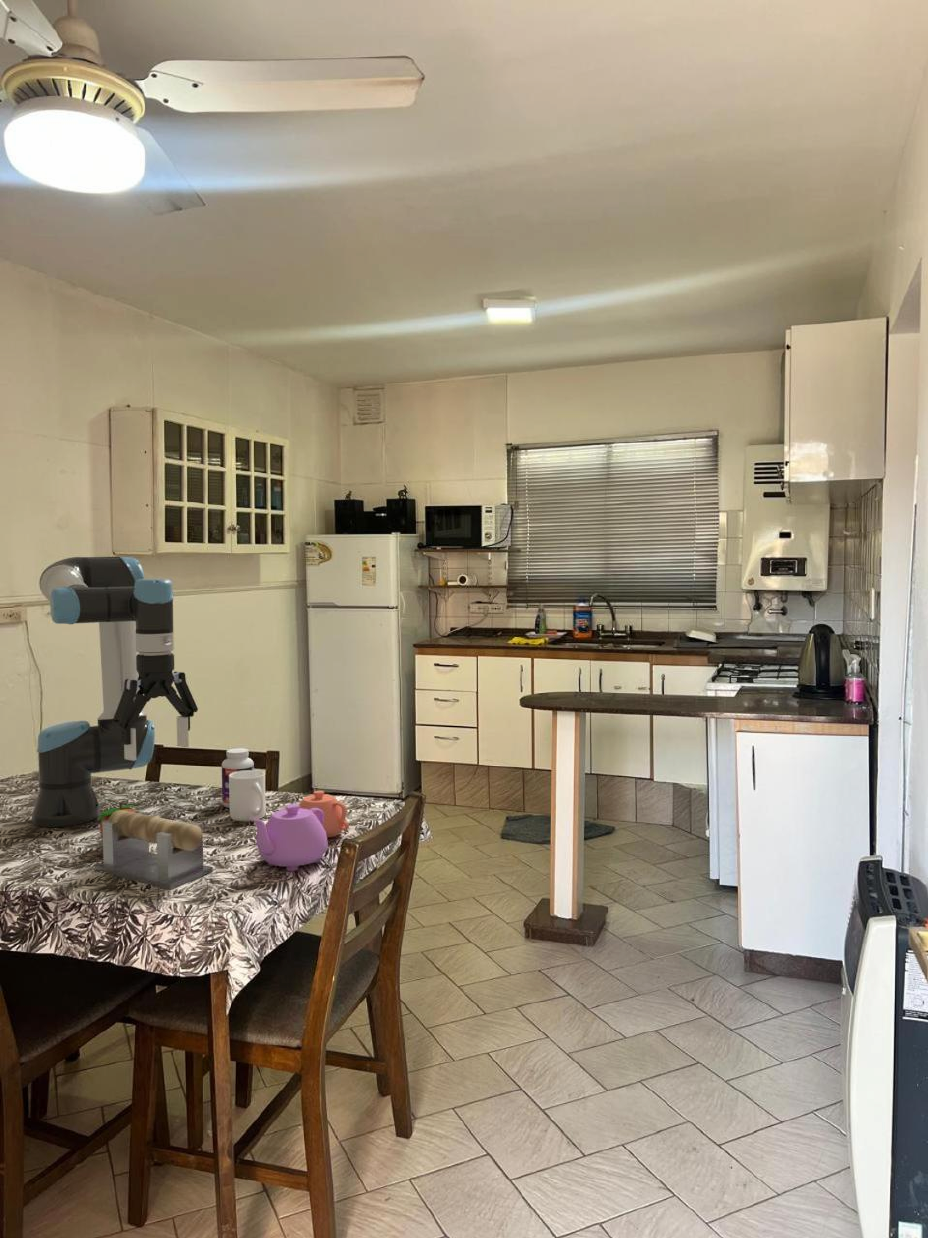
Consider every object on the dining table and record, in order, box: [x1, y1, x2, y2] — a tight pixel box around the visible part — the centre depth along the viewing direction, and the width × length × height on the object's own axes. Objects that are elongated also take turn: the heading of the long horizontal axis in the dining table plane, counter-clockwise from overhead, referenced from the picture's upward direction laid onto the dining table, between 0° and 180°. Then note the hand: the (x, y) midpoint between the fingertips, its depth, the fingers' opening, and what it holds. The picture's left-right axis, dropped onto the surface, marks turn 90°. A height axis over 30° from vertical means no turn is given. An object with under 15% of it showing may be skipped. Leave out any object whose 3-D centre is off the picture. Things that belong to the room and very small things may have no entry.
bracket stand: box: [94, 810, 214, 891], centre depth 176 cm, size 22×11×10 cm, turn 60°
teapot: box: [251, 803, 329, 872], centre depth 180 cm, size 20×14×12 cm
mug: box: [229, 769, 267, 822], centre depth 213 cm, size 9×12×11 cm
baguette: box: [108, 810, 203, 851], centre depth 176 cm, size 22×5×5 cm, turn 60°
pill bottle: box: [221, 747, 255, 809], centre depth 224 cm, size 8×8×14 cm
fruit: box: [97, 801, 139, 840], centre depth 192 cm, size 9×10×10 cm
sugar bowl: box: [298, 790, 350, 839], centre depth 199 cm, size 12×14×10 cm
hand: (157, 753), depth 183 cm, fingers open, 13 cm apart
